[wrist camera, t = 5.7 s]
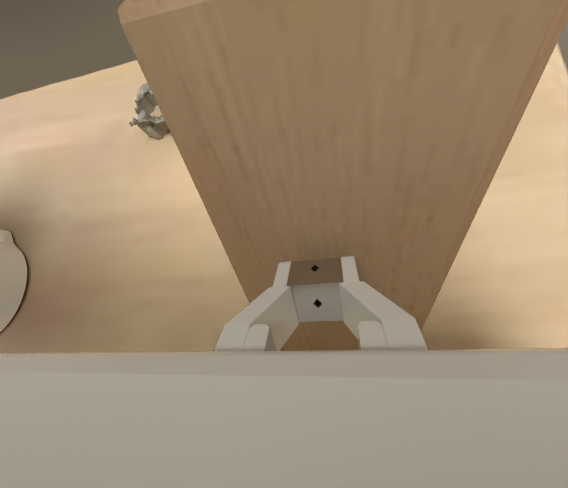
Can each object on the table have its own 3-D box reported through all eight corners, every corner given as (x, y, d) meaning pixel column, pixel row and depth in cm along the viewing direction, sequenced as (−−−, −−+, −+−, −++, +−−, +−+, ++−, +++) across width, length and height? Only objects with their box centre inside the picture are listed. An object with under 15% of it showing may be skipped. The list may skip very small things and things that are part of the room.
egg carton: (148, 145, 36) (125, 126, 32) (149, 106, 38) (127, 83, 34) (213, 125, 34) (195, 101, 30) (210, 84, 36) (194, 57, 32)
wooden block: (389, 262, 24) (454, -53, 10) (405, 369, 17) (681, -181, 3) (290, 259, 26) (236, 2, 13) (269, 351, 19) (99, -2, 6)
